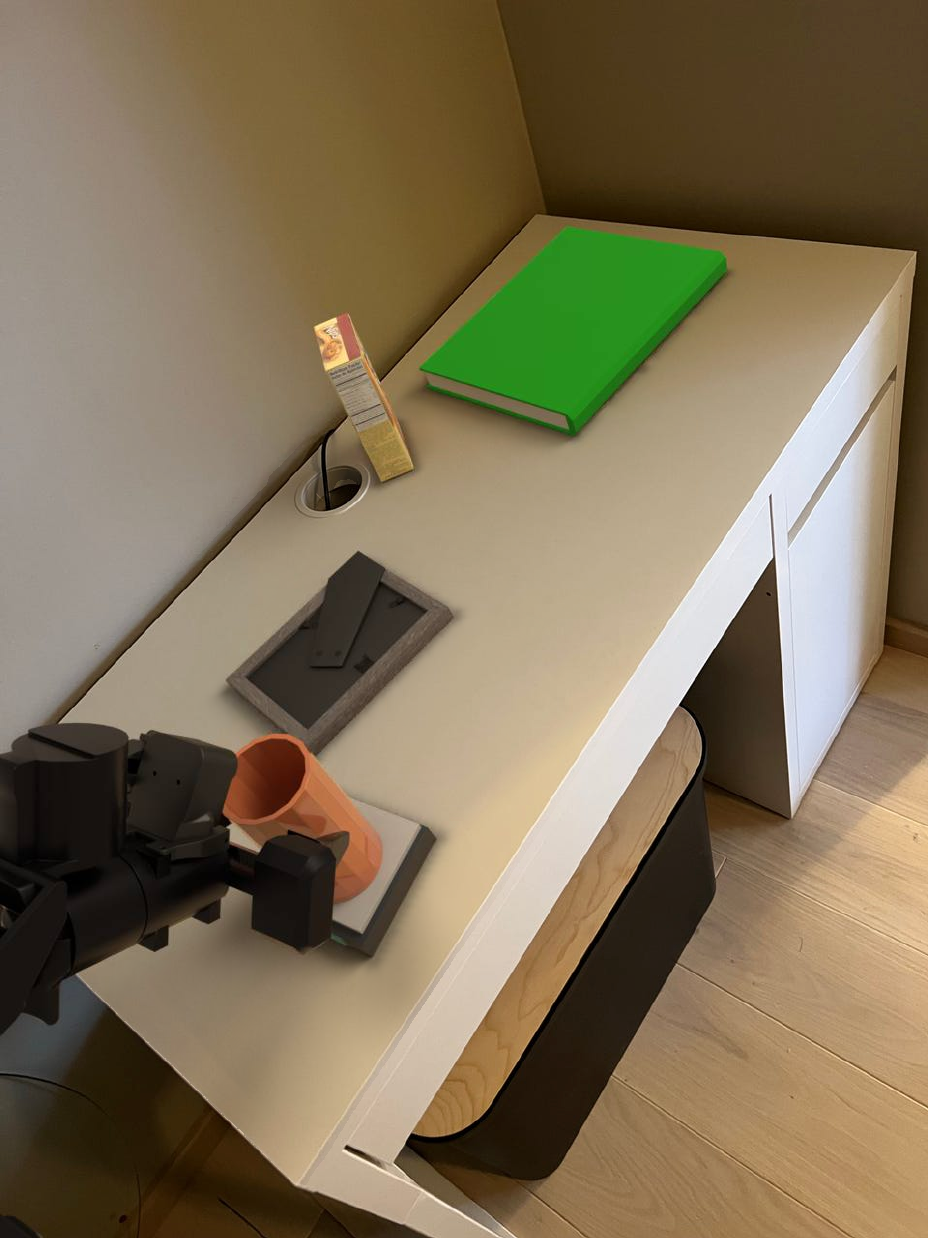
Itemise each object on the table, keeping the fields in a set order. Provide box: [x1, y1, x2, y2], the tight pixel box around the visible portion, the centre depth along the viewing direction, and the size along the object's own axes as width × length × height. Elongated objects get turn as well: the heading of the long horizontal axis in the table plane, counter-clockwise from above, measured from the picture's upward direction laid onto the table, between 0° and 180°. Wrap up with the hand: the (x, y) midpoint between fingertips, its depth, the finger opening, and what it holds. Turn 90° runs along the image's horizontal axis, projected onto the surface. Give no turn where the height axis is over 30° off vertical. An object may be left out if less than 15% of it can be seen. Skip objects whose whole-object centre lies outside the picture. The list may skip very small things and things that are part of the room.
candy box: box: [313, 312, 414, 483], centre depth 101 cm, size 9×4×15 cm, turn 15°
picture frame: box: [225, 550, 454, 757], centre depth 90 cm, size 13×2×18 cm
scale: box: [330, 796, 437, 958], centre depth 75 cm, size 10×10×3 cm
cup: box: [222, 733, 383, 903], centre depth 69 cm, size 7×7×13 cm
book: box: [418, 225, 728, 437], centre depth 109 cm, size 22×28×3 cm
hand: (296, 819), depth 68 cm, fingers open, 9 cm apart
